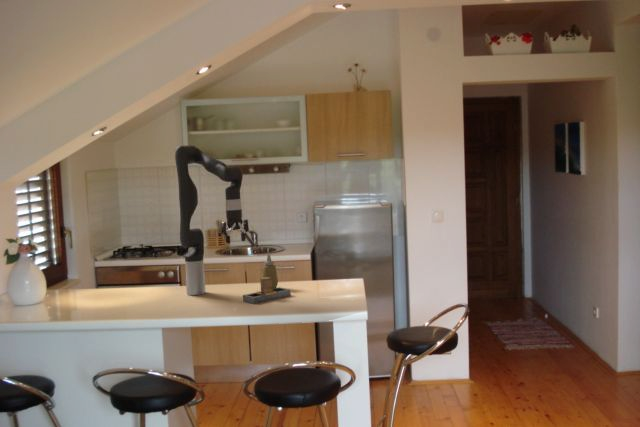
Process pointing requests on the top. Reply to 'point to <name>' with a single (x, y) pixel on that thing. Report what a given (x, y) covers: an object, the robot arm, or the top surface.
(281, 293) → the grey compartment tray
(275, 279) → the squeeze bottle
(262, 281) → the walnut peg
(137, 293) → the top surface
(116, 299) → the top surface
